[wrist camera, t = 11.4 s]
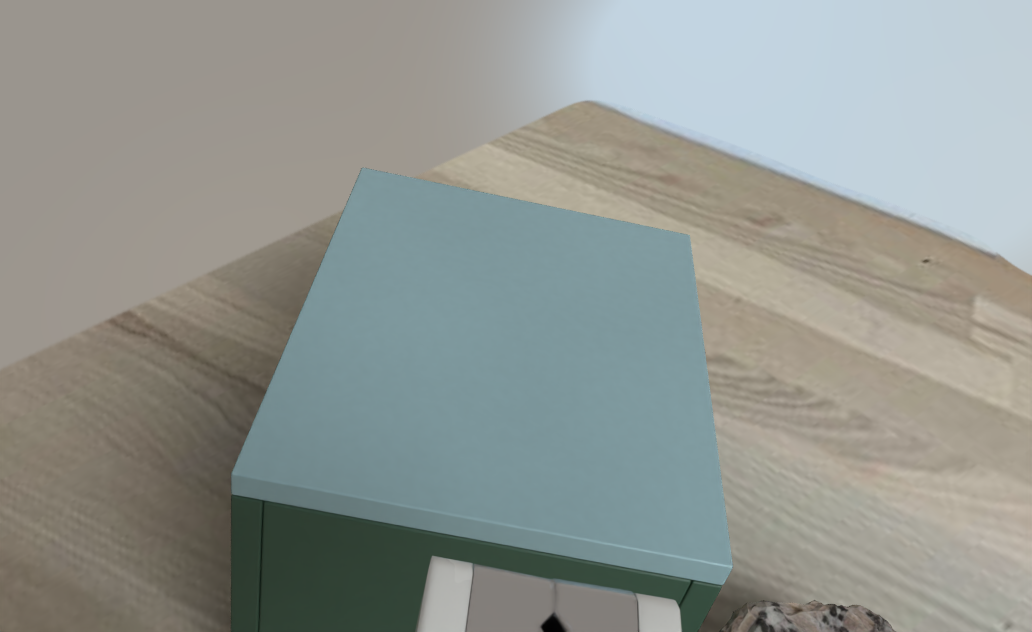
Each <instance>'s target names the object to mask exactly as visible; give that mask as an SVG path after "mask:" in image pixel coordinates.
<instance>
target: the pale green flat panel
mask: <svg viewBox="0 0 1032 632" xmlns="http://www.w3.org/2000/svg"><path fill="white" fill-rule="evenodd" d="M231 493H232V494H233V495H238V496H244V497H249V498H254V499H260V500H265V501H270V502H276V503H281V504H287V505H292V506H297V507H303V508H308V509H314V510H319V511H324V512H330V513H335V514H341V515H346V516H351V517H357V518H362V519H368V520H373V521H378V522H384V523H389V524H394V525H400V526H405V527H411V528H416V529H421V530H427V531H432V532H438V533H443V534H448V535H454V536H459V537H465V538H470V539H475V540H481V541H486V542H492V543H497V544H502V545H508V546H513V547H518V548H524V549H529V550H535V551H540V552H545V553H551V554H556V555H562V556H567V557H572V558H578V559H583V560H589V561H594V562H599V563H605V564H610V565H615V566H621V567H626V568H632V569H637V570H642V571H648V572H653V573H659V574H664V575H669V576H675V577H680V578H686V579H691V580H696V581H702V582H707V583H713V584H718V585H723V584H724V583H725V581H726V579H727V577H728V575H729V574H730V572H731V570H732V568H733V564H732V556H731V549H730V541H729V533H728V525H727V518H726V510H725V502H724V495H723V487H722V479H721V472H720V464H719V456H718V449H717V441H716V433H715V426H714V418H713V410H712V403H711V395H710V387H709V379H708V372H707V364H706V356H705V349H704V341H703V333H702V326H701V318H700V310H699V303H698V295H697V287H696V280H695V272H694V264H693V257H692V249H691V241H690V235H687V234H682V233H677V232H672V231H668V230H663V229H658V228H653V227H648V226H643V225H639V224H634V223H629V222H624V221H619V220H614V219H610V218H605V217H600V216H595V215H590V214H585V213H581V212H576V211H571V210H566V209H561V208H556V207H551V206H547V205H542V204H537V203H532V202H527V201H522V200H518V199H513V198H508V197H503V196H498V195H493V194H489V193H484V192H479V191H474V190H469V189H464V188H460V187H455V186H450V185H445V184H440V183H435V182H430V181H426V180H421V179H416V178H411V177H406V176H401V175H397V174H391V173H387V172H382V171H377V170H372V169H367V168H362V169H361V171H360V173H359V175H358V178H357V180H356V182H355V185H354V187H353V189H352V192H351V194H350V197H349V199H348V201H347V204H346V206H345V208H344V211H343V213H342V215H341V218H340V220H339V222H338V225H337V227H336V229H335V232H334V234H333V236H332V239H331V241H330V243H329V246H328V248H327V250H326V253H325V255H324V257H323V260H322V262H321V264H320V267H319V269H318V271H317V274H316V276H315V278H314V281H313V283H312V285H311V288H310V290H309V292H308V295H307V297H306V300H305V302H304V304H303V307H302V309H301V311H300V314H299V316H298V318H297V321H296V323H295V325H294V328H293V330H292V332H291V335H290V337H289V339H288V342H287V344H286V346H285V349H284V351H283V353H282V356H281V358H280V360H279V363H278V365H277V367H276V370H275V372H274V374H273V377H272V379H271V381H270V384H269V386H268V388H267V391H266V393H265V395H264V398H263V400H262V403H261V405H260V407H259V410H258V412H257V414H256V417H255V419H254V421H253V424H252V426H251V428H250V431H249V433H248V435H247V438H246V440H245V442H244V445H243V447H242V449H241V452H240V454H239V456H238V459H237V461H236V463H235V466H234V468H233V470H232V473H231Z"/></svg>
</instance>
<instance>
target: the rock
mask: <svg viewBox="0 0 1032 632" xmlns="http://www.w3.org/2000/svg"><path fill="white" fill-rule="evenodd" d="M720 632H895V631H894V630H893V629H892V627H891V625H890V624H889V623H888V622H887V621H886V620H885V619H883V618H882V617H881V616H880V615H877V614H875V613H873V612H872V611H870V610H868V609H866V608H864V607H863V606H861V605H851V606H849V607H847V608H846V607H844V606H842V605H841V606H836V605H835V604H827V605H823V604H822V603H819V602H817V601H815V600H814V601H812V602H809V603H807V604H805V605H804V604H797V603H775V602H769V601H760V602H756V603H746V604H745V605H744V606H743V607H742V608H740V609H738V610H736V611H734V612H733V614H732V617H731V619H730V620H729V621H728V623H727V624H726V625H725V626H724V627H723V629H722V630H721V631H720Z"/></svg>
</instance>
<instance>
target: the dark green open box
mask: <svg viewBox="0 0 1032 632" xmlns="http://www.w3.org/2000/svg"><path fill="white" fill-rule="evenodd" d="M432 556H436V557H442V558H447V559H453V560H458V561H463V562H469V563H473V565H474V564H478V565H483V566H488V567H493V568H498V569H503V570H507V571H512V572H517V573H522V574H527V575H532V576H537V577H542V578H547V579H552V580H553V578H555V579H561V580H567V581H573V582H579V583H586V584H592V585H598V586H604V587H610V588H616V589H622V590H628V591H632V592H633V593H637V594H644V595H650V596H656V597H662V598H668V599H673V600H675V601H676V602H677V604H678V606H679V609H680V617H681V630H682V632H698V630H699V628H700V626H701V625H702V623H703V621H704V619H705V617H706V615H707V614H708V612H709V610H710V608H711V606H712V604H713V603H714V601H715V599H716V597H717V595H718V593H719V592H720V590H721V588H722V585H718V584H713V583H707V582H702V581H696V580H691V579H686V578H680V577H675V576H669V575H664V574H659V573H653V572H648V571H642V570H637V569H632V568H626V567H621V566H615V565H610V564H605V563H599V562H594V561H589V560H583V559H578V558H572V557H567V556H562V555H556V554H551V553H545V552H540V551H535V550H529V549H524V548H518V547H513V546H508V545H502V544H497V543H492V542H486V541H481V540H475V539H470V538H465V537H459V536H454V535H448V534H443V533H438V532H432V531H427V530H421V529H416V528H411V527H405V526H400V525H394V524H389V523H384V522H378V521H373V520H368V519H362V518H357V517H351V516H346V515H341V514H335V513H330V512H324V511H319V510H314V509H308V508H303V507H297V506H292V505H287V504H281V503H276V502H270V501H265V500H260V499H254V498H249V497H244V496H238V495H233V494H232V496H231V632H415V630H416V625H417V620H418V616H419V611H420V606H421V601H422V597H423V592H424V588H425V583H426V578H427V574H428V569H429V564H430V560H431V557H432Z"/></svg>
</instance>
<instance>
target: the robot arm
mask: <svg viewBox="0 0 1032 632" xmlns="http://www.w3.org/2000/svg"><path fill="white" fill-rule="evenodd" d="M415 632H682V630H681V617H680V609H679V606H678V604H677V602H676V601H675V600H673V599H668V598H662V597H656V596H650V595H644V594H637V593H633V592H632V591H628V590H622V589H616V588H610V587H604V586H598V585H592V584H586V583H579V582H573V581H567V580H561V579H555V578H553V580H552V579H547V578H542V577H537V576H532V575H527V574H522V573H517V572H512V571H507V570H503V569H498V568H493V567H488V566H483V565H478V564H474V565H473V563H469V562H463V561H458V560H453V559H447V558H442V557H436V556H432V557H431V560H430V564H429V569H428V574H427V578H426V583H425V588H424V592H423V597H422V601H421V606H420V611H419V616H418V620H417V625H416V630H415Z"/></svg>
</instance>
